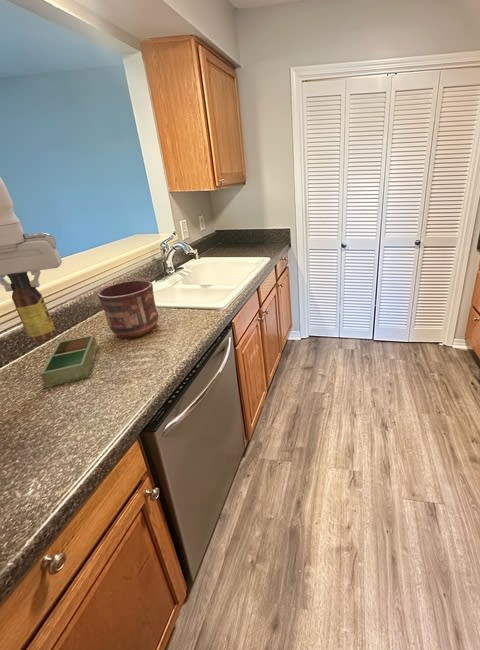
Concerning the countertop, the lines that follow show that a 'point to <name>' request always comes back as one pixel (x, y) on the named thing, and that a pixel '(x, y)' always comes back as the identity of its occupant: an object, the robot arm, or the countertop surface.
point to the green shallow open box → (70, 361)
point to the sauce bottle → (31, 308)
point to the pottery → (130, 308)
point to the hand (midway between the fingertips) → (23, 288)
